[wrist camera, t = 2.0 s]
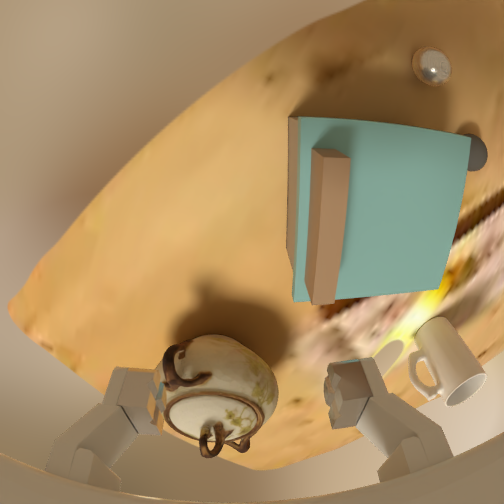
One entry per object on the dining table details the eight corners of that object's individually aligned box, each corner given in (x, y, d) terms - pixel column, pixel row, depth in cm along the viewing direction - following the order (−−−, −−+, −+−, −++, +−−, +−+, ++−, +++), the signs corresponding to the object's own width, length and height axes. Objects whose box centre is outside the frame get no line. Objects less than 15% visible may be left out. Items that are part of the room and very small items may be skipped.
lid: (463, 135, 19) (495, 146, 15) (433, 283, 26) (453, 308, 22) (297, 116, 18) (311, 121, 15) (291, 294, 25) (299, 327, 22)
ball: (473, 133, 25) (496, 141, 22) (469, 167, 27) (491, 177, 24) (448, 128, 25) (471, 135, 22) (444, 163, 27) (466, 174, 24)
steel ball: (436, 53, 21) (459, 51, 18) (436, 88, 23) (459, 91, 20) (403, 44, 21) (425, 40, 18) (404, 81, 23) (426, 82, 20)
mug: (453, 309, 37) (493, 366, 27) (444, 340, 41) (477, 395, 30) (395, 327, 38) (430, 394, 28) (390, 358, 41) (418, 421, 31)
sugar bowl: (127, 317, 35) (91, 419, 22) (239, 279, 33) (241, 397, 20) (201, 403, 44) (195, 487, 31) (292, 381, 42) (306, 472, 29)
